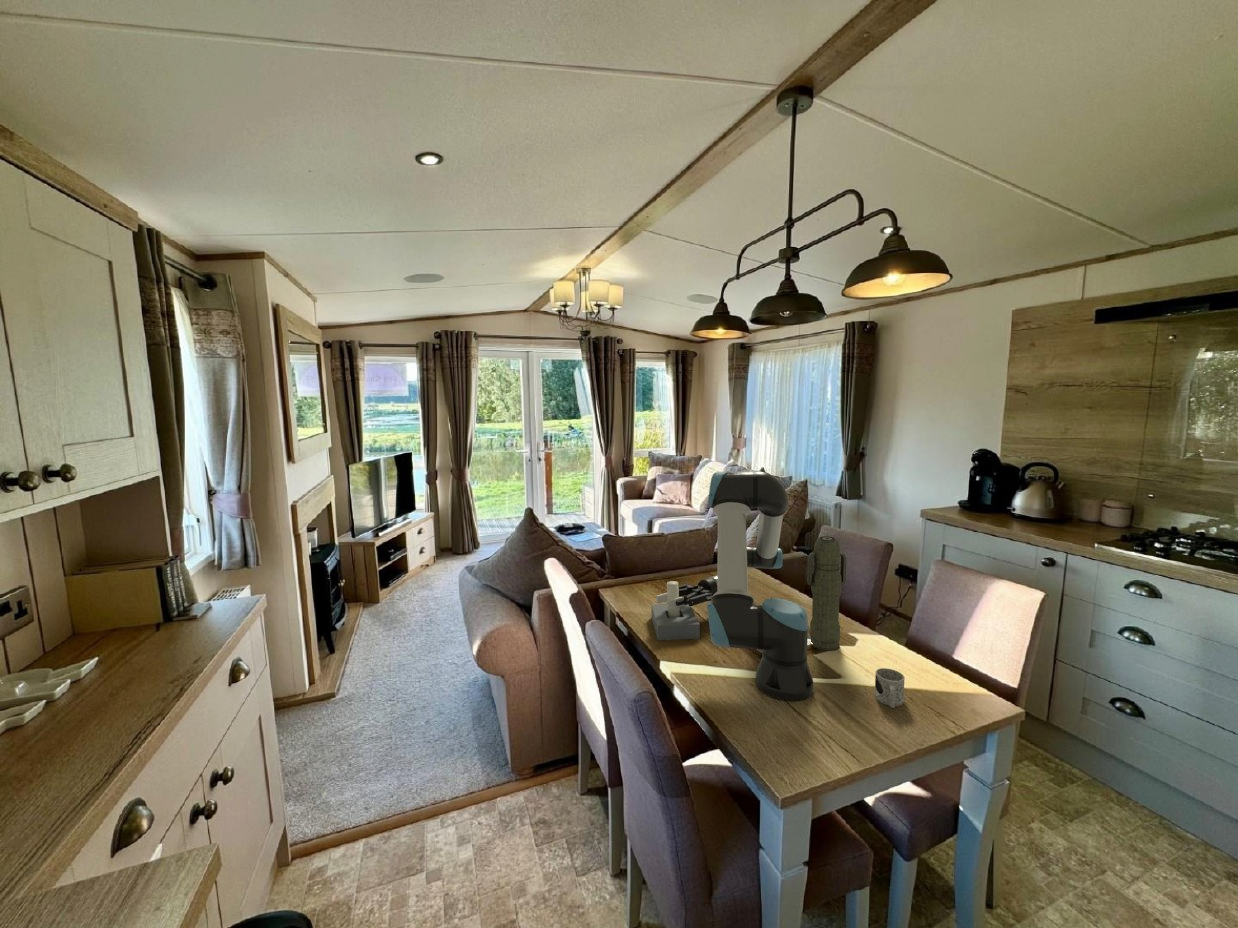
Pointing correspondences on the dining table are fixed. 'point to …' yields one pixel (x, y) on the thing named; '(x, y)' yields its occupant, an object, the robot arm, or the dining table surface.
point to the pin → (672, 594)
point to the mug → (889, 687)
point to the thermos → (826, 592)
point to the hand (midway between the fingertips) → (662, 602)
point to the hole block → (675, 623)
